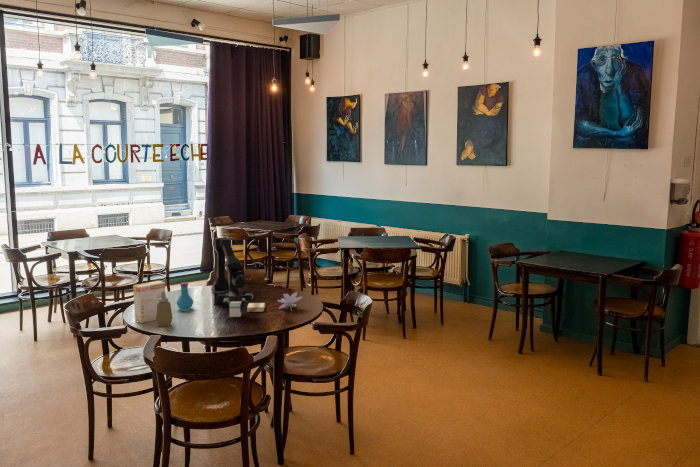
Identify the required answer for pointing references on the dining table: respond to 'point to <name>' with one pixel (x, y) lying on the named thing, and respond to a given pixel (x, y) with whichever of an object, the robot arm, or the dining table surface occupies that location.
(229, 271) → the robot arm
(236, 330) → the dining table surface
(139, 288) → the coffeecake box
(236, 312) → the teal-striped cream cube
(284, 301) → the water lily
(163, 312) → the squeeze bottle
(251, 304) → the block
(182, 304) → the perfume bottle
